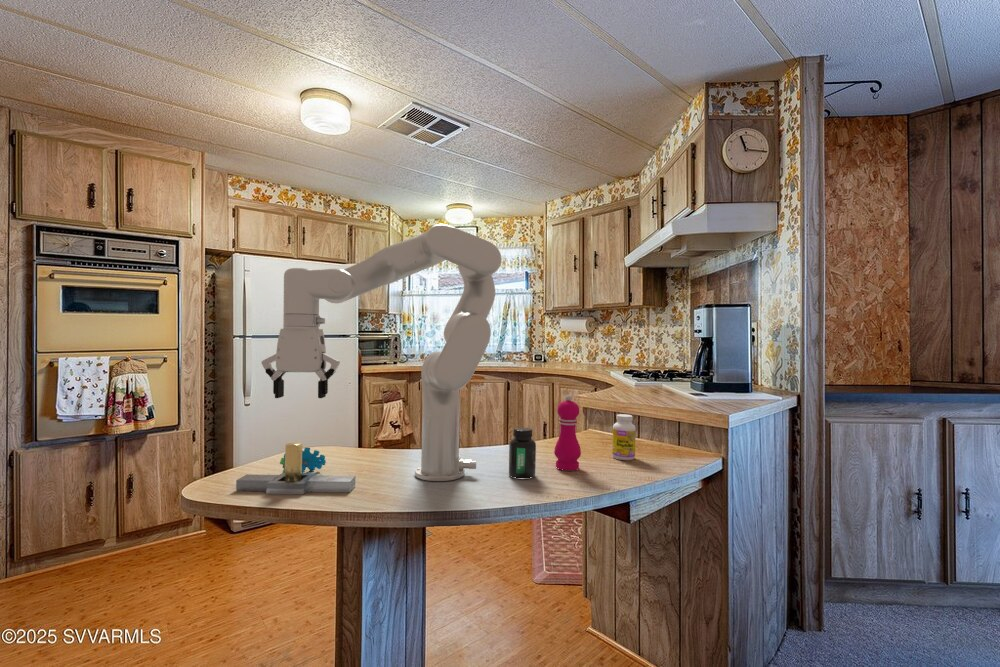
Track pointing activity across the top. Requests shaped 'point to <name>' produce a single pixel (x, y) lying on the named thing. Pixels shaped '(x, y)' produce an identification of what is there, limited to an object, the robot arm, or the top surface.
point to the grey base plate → (295, 484)
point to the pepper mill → (567, 436)
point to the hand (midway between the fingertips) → (300, 397)
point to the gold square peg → (293, 462)
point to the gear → (308, 460)
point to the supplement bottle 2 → (624, 438)
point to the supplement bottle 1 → (522, 454)
